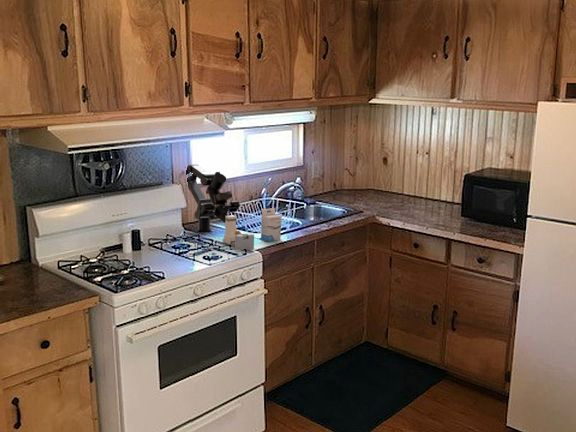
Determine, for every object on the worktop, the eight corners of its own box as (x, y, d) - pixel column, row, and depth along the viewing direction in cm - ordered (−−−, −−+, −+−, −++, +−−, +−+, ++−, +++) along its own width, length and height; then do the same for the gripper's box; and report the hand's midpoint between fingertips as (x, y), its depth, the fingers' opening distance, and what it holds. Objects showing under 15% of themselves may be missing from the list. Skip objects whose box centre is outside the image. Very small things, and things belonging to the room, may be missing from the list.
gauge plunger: (234, 235, 283) (234, 230, 282) (239, 235, 284) (239, 229, 284) (242, 239, 276) (243, 234, 276) (247, 239, 278) (248, 233, 277)
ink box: (267, 242, 293) (268, 211, 290) (260, 239, 296) (261, 209, 293) (280, 239, 298) (281, 209, 295) (274, 237, 302) (275, 207, 299)
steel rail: (223, 240, 292) (223, 238, 292) (228, 240, 294) (228, 237, 293) (239, 248, 279) (239, 245, 279) (245, 247, 281) (245, 245, 280)
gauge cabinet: (234, 248, 278) (234, 234, 277) (249, 246, 282) (250, 233, 281) (238, 250, 275) (238, 236, 274) (253, 248, 279) (254, 234, 278)
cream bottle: (224, 241, 289) (224, 215, 287) (233, 240, 292) (234, 215, 289) (229, 244, 285) (229, 218, 283) (238, 243, 288) (239, 217, 285)
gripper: (202, 186, 287) (213, 214, 280) (238, 184, 297) (249, 211, 290) (195, 200, 295) (205, 228, 288) (230, 198, 305) (241, 224, 298)
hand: (226, 222), depth 291 cm, fingers closed
